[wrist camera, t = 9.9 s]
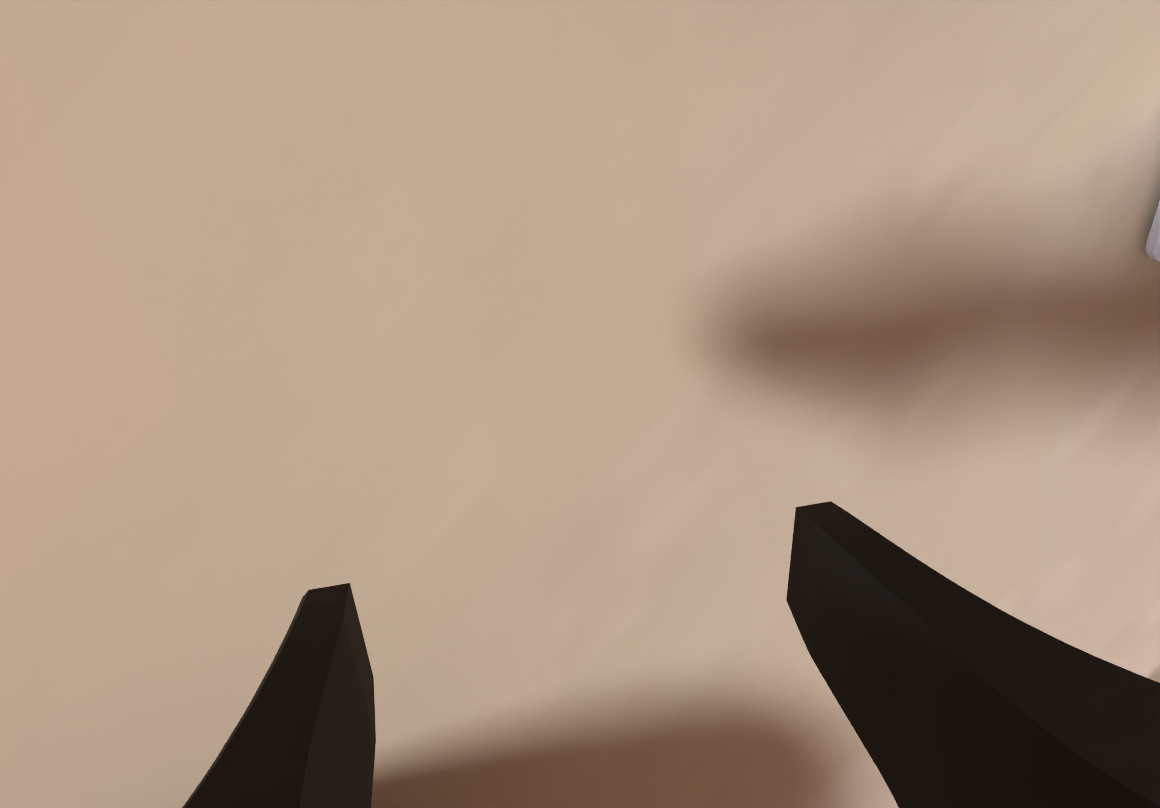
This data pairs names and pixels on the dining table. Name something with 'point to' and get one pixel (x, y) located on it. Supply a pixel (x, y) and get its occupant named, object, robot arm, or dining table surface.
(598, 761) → the dining table surface
